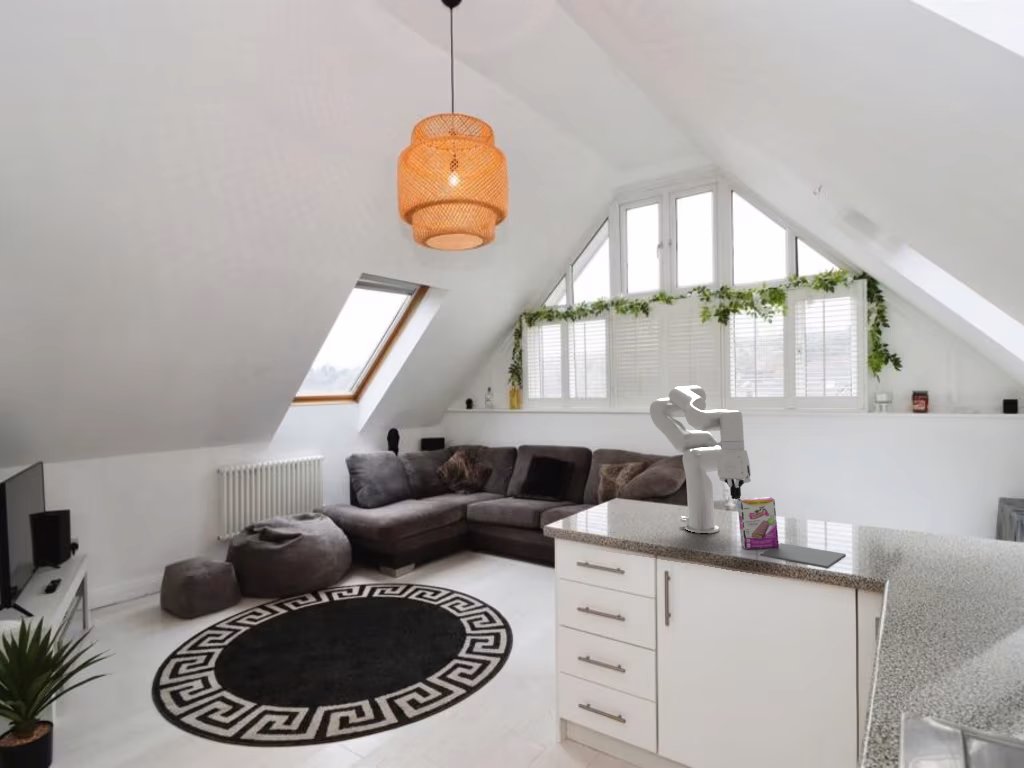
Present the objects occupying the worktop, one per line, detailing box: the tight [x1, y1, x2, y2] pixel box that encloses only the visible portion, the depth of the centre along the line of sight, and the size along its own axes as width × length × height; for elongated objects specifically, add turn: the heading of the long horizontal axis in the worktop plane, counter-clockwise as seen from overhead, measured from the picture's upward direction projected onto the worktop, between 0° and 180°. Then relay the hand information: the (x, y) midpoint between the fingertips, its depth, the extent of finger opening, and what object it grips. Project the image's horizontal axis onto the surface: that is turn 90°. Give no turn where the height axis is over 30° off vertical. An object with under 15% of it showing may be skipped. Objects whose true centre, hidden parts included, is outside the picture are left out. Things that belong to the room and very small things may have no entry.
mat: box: [759, 542, 846, 569], centre depth 180 cm, size 20×16×1 cm
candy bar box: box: [736, 496, 780, 550], centre depth 190 cm, size 11×5×16 cm, turn 84°
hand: (736, 498), depth 195 cm, fingers closed
